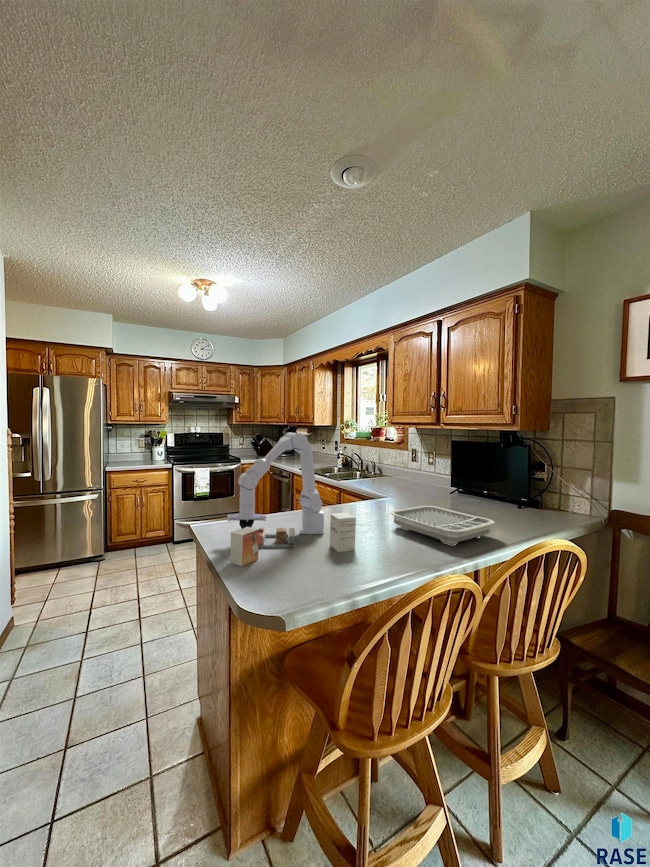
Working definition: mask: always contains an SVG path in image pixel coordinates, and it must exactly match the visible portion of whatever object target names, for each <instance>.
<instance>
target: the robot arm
mask: <svg viewBox="0 0 650 867" xmlns="http://www.w3.org/2000/svg"><path fill="white" fill-rule="evenodd" d="M290 450H294V451H296V452H297V453H298V454H299V458H300V459H299V460H300V469H301V471H300V472H301V479H302V480H301V481H302V490H301V492H300V498H299V505H300V507H301V509H302V510H301V527H300V535H301V534H302V535H323V534H324V529H325V521H324V520H325V515H324V514H325V513H324V511H323V510H322V508H323V500H322V499H321V496H320V493H319V491H318V489H317V488H316V477H315V476H316V475H315V467H314V466H315V465H314V454H313V447H312V445H311V443H310V442H309V440H308V437H307V436H306V435H304V434H303V433H302V432H297V433H296V432H292V431H291V432H286V433H285V434H284V435H283V436H282V437H280V438H279V440H278V442H277V443H276V444H275V445H274V446H273V447H272V448H271V449H270V451H269V452H267V454H266V455H265V456H264V457H262V458H258V459H255V460H253V461H254V462H253V464H252V465H251V466H250V467H249V468H247V469H246V470H245V472H243V473H241V474H240V475H239V477H238V479H237V484H238V485H239V513H237V514H235V513H234V514H228V515H227V517H226V518H227V520H226V521H227V522H231V521H233V522H234V521H238V522H239V523H238V524H239V526H240V528H241V529H243V528H246V527H251V528H253V525H254V522H255V521H263V522H266V521H267V514H262V513H261V514H260V513H259V514H258V513H255V509H256V488H257V485H258V484H259V480H260V479H261V478H262V477H263V476H264V475H266V473H267V472H268V471H269V470H270V468H271V463H273V462H274V461H275V460H276V459H277V458H278V457H279V456H280V455H281V454H283V452H285V451H290Z"/></svg>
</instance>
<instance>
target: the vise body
mask: <svg viewBox="0 0 650 867" xmlns="http://www.w3.org/2000/svg"><path fill="white" fill-rule="evenodd" d="M295 534H296V532H295V527H290V528H289V529H288V531H287V538H288V540H287V544H264V545H259V548H258V550H259V549H295V548H296V546H295V545H296V544H295V542H296V540H295V539H296V536H295ZM267 538H275V539H276V533H274V534H273V533H272V534H270V533H269V534H267V533H265V539H267Z"/></svg>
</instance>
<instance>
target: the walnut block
mask: <svg viewBox="0 0 650 867" xmlns="http://www.w3.org/2000/svg"><path fill="white" fill-rule="evenodd" d="M275 530H276V531H275V534H276V537H275V545H287V538H288V537H287V534H288V531H287V528H286V527H285V528H284V527H283V528H281V527H280V528H279V527H278V528H276V529H275Z"/></svg>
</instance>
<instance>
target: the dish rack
mask: <svg viewBox="0 0 650 867" xmlns="http://www.w3.org/2000/svg"><path fill="white" fill-rule="evenodd" d="M390 515H391V516H393V523H394V524H396V525H397V526H398V527H400V529H401V530H403V529H404V530H403V531H406V530H407V531H406V532H409V531H410V530H411V531H414V532H417V533H419V534H423V535H426V536H429V537H432V538H434V539H438V540H440V542H441V543H442V542H443V543H446V544H449V545H454V544H457V545H458V543H460V542H463V541H468V540H471V539H474V538H476V537H479V536H481V537H482V536H484V535H488V534H490V532H491V530H490V529H491V526H494V525H495V524H496V521H494V520H493V519H490V518H486V517H482V516H476V515H472V514H468V513H464V512H461V511H456V510H451V509H447V508H443V507H439V506H434V505H420V506H413V507H409V508H402V509H401V508H400V509H396V510H391V512H390ZM443 543H442V544H443Z"/></svg>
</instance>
